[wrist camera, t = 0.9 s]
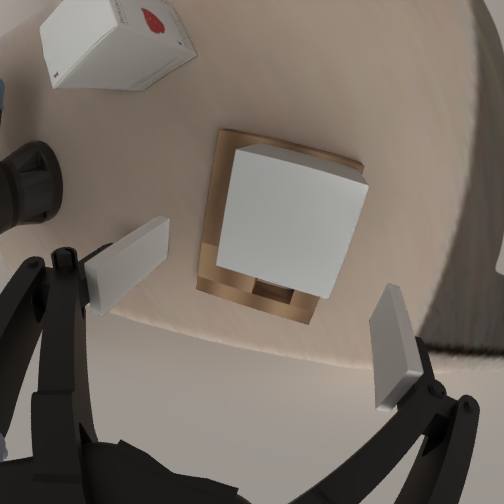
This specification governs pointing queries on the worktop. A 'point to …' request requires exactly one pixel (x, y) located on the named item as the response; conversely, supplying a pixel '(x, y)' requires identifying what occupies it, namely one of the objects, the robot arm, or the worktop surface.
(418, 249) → the worktop surface
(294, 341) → the worktop surface
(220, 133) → the board
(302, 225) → the grey square block
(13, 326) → the robot arm
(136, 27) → the supplement box
